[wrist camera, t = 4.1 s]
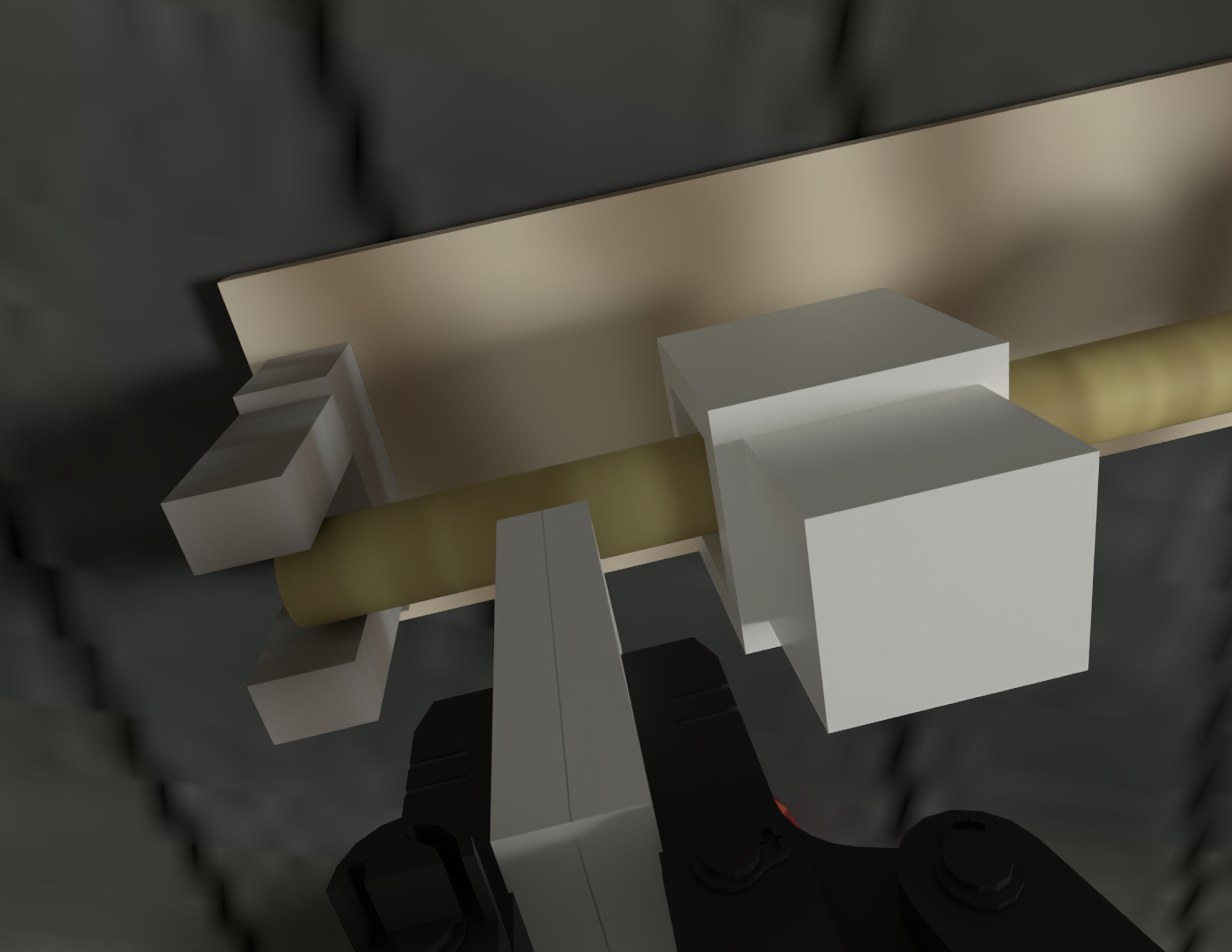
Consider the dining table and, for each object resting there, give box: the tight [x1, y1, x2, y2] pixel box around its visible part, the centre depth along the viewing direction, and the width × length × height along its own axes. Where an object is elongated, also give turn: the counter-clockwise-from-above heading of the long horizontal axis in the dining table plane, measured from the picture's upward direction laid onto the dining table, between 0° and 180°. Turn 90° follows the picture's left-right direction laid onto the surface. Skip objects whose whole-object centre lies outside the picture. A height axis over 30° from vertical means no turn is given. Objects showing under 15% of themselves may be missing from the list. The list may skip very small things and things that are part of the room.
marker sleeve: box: [657, 287, 1100, 733], centre depth 15 cm, size 5×5×8 cm
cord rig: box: [161, 58, 1232, 745], centre depth 18 cm, size 34×10×10 cm, turn 101°
